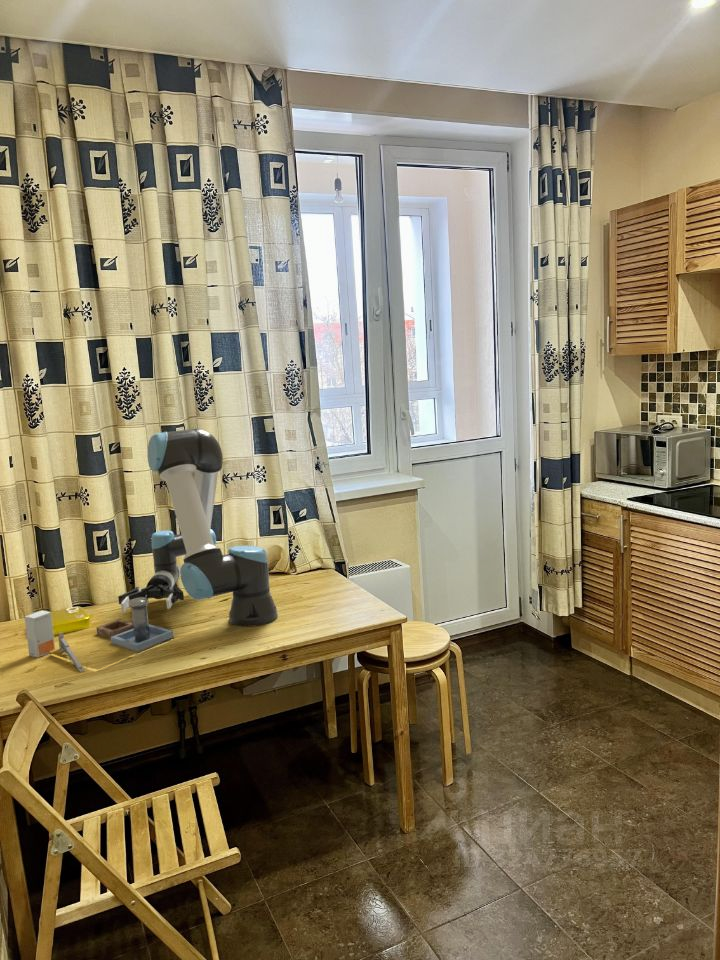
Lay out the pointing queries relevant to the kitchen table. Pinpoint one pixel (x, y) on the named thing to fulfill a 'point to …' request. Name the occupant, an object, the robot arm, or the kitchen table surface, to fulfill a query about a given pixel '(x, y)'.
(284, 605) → the kitchen table surface
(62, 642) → the caliper
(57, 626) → the element tile
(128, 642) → the tray
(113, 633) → the socket block
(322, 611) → the kitchen table surface
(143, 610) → the blue-grey cylinder
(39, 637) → the skincare box
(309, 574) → the kitchen table surface
